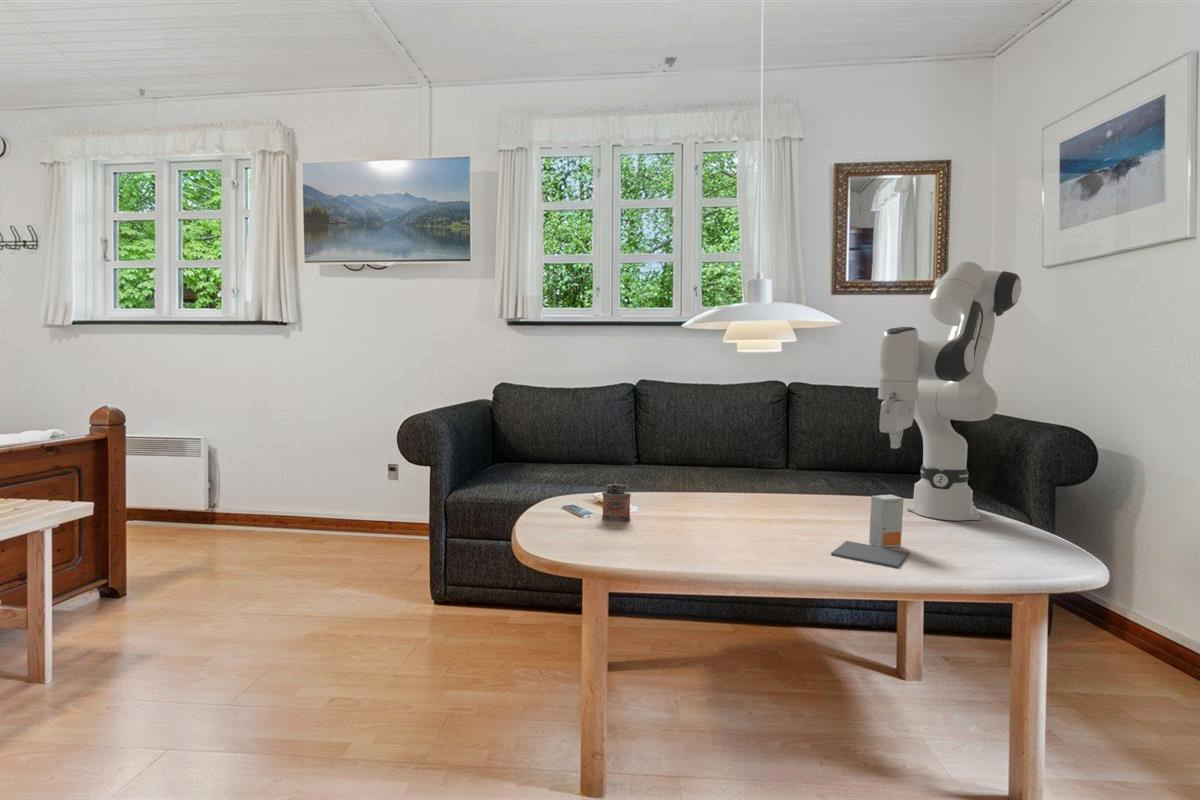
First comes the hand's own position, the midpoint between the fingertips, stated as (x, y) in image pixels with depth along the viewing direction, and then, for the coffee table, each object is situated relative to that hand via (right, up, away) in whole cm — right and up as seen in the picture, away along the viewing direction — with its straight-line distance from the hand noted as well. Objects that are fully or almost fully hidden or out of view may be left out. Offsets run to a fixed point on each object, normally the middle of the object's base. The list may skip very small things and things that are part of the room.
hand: (895, 447), depth 152 cm
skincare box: (-4, -24, -4) cm, 24 cm away
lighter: (-69, -22, +18) cm, 75 cm away
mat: (-11, -24, -11) cm, 29 cm away
